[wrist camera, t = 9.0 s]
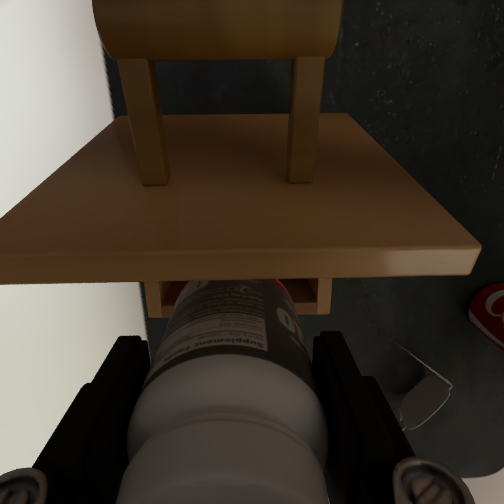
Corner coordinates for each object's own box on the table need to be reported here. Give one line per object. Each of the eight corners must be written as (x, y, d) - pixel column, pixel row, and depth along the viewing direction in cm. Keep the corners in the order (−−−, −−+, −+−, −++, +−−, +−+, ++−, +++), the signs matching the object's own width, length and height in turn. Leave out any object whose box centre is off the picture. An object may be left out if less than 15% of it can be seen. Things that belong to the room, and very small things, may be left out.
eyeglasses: (348, 450, 39) (356, 482, 35) (291, 413, 38) (294, 443, 34) (438, 366, 36) (459, 392, 32) (379, 322, 35) (393, 345, 31)
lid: (471, 276, 8) (619, -55, 4) (-28, 286, 7) (-231, -51, 4) (344, 129, 17) (364, -12, 14) (122, 132, 17) (91, -10, 13)
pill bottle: (300, 358, 15) (366, 631, 7) (188, 372, 15) (123, 656, 7) (288, 251, 13) (359, 445, 5) (163, 268, 13) (40, 483, 5)
